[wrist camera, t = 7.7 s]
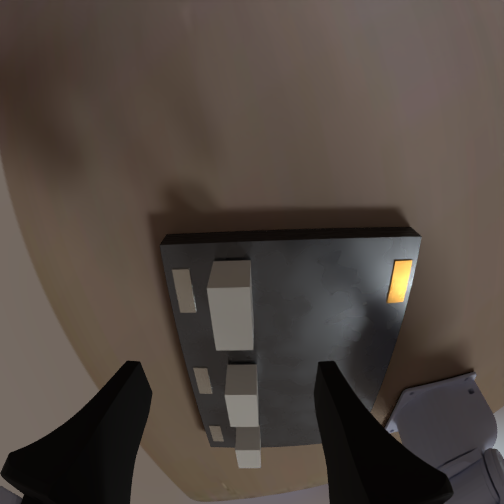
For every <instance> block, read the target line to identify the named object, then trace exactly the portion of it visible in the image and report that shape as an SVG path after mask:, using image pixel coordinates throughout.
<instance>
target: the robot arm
mask: <svg viewBox="0 0 504 504" xmlns="http://www.w3.org/2000/svg"><path fill="white" fill-rule="evenodd" d="M475 377H476V373H475V372H471V373H468V374H465V375H461V376H458V377H454V378H450V379H447V380H443V381H439V382H435V383H431V384H426V385H422V386H418V387H413V388H408V389H405V390H404V391H403V392H402V394H401V396H400V398H399V400H398V402H397V404H396V406H395V408H394V410H393V412H392V414H391V416H390V418H389V420H388V422H387V424H386V426H385V428H384V427H383V426H382V425H381V424H380V423H379V422H378V421H377V420H376V419H375V418H374V416H373V415H372V414H371V413H370V412H369V411H368V409H367V408H366V407H365V406H364V404H363V403H362V402H361V400H360V399H359V398H358V396H357V395H356V394H355V392H354V391H353V389H352V388H351V386H350V385H349V383H348V382H347V380H346V379H345V377H344V376H343V374H342V372H341V371H340V369H339V367H338V366H337V364H336V362H335V361H334V360H332V361H320V362H318V367H317V374H316V381H315V387H314V403H315V412H316V418H317V423H318V427H319V432H320V436H321V441H322V445H323V450H324V454H325V459H326V465H327V474H328V485H329V499H330V504H504V459H503V457H502V455H501V454H500V452H499V451H498V450H497V449H492V447H493V446H494V444H495V441H496V438H497V424H496V420H495V417H494V415H493V413H492V411H491V409H490V407H489V405H488V404H487V402H486V400H485V398H484V397H483V395H482V393H481V391H480V390H479V388H478V386H477V384H476V383H475V381H474V379H475ZM151 399H152V390H151V388H150V385H149V383H148V380H147V378H146V375H145V373H144V370H143V368H142V365H141V363H140V362H138V361H126V362H125V364H124V365H123V366H122V367H121V368H120V369H119V370H118V371H117V372H116V373H115V375H114V376H113V377H112V378H111V379H110V380H109V381H108V382H107V383H106V385H105V386H104V387H103V388H102V389H101V390H100V391H99V392H98V393H97V394H96V395H95V396H94V397H93V398H92V399H91V400H90V401H89V402H88V403H87V404H86V405H85V406H84V407H83V408H82V409H81V410H80V411H79V412H78V413H76V414H75V415H74V416H73V417H72V418H70V419H69V420H68V421H67V422H65V423H64V424H63V425H62V426H60V427H58V428H57V429H55V430H54V431H52V432H51V433H50V434H48V435H46V436H45V437H43V438H41V439H39V440H38V441H36V442H34V443H32V444H30V445H28V446H26V447H24V448H21V449H18V450H16V451H14V452H11V453H9V455H8V458H7V460H6V462H5V464H4V466H3V468H2V471H1V473H0V474H1V476H2V477H3V478H4V479H5V480H6V481H7V482H8V483H10V484H11V485H12V486H14V487H15V488H16V489H18V490H19V491H20V492H22V493H23V494H24V496H23V499H22V498H21V497H19V496H18V495H16V494H14V493H12V492H11V491H9V490H7V489H5V488H4V487H2V486H0V504H130V495H131V484H132V477H133V470H134V464H135V459H136V455H137V451H138V448H139V445H140V441H141V438H142V435H143V431H144V428H145V425H146V422H147V418H148V415H149V410H150V405H151ZM397 431H398V432H399V435H400V438H401V441H402V444H403V445H402V444H401V443H400V442H398V441H397V440H396V439H395V438H394V437H393V436H392V435H391V434H390V433H392V432H397Z"/></svg>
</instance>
